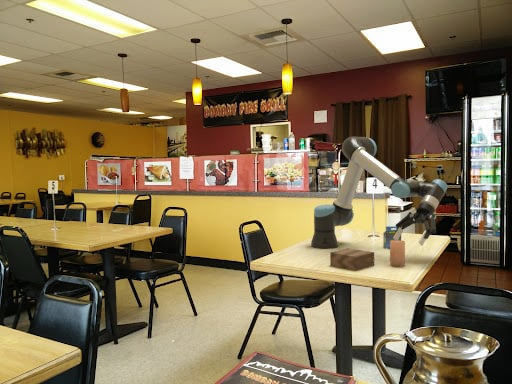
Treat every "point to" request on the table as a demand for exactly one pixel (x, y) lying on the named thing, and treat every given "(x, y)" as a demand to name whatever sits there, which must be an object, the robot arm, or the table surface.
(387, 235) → the label tape box
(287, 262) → the table surface
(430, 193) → the robot arm
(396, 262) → the terracotta canister
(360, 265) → the walnut block
